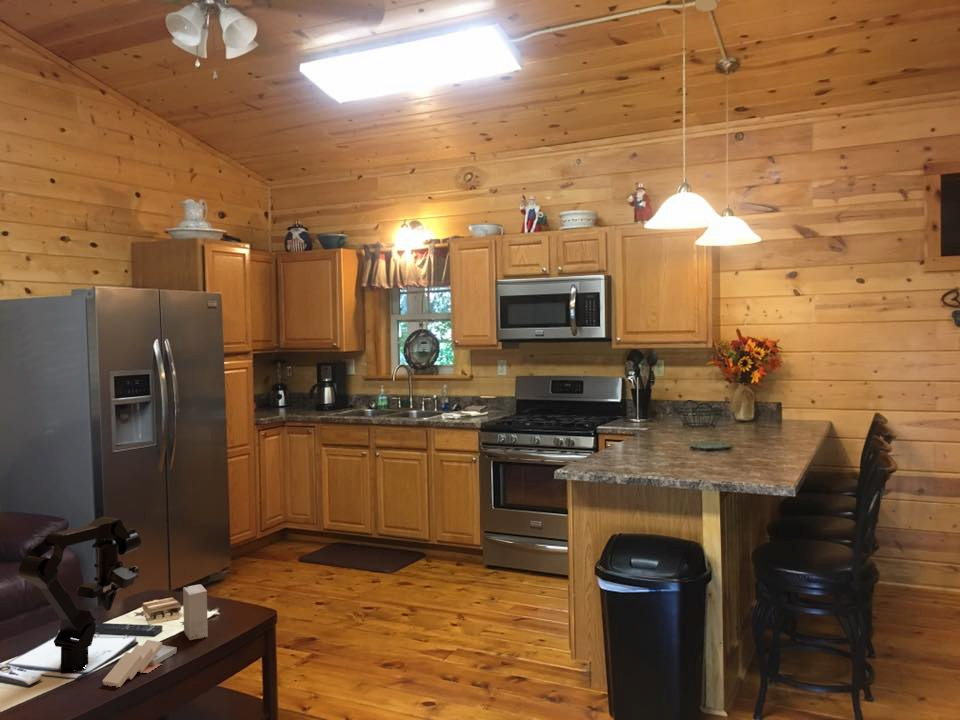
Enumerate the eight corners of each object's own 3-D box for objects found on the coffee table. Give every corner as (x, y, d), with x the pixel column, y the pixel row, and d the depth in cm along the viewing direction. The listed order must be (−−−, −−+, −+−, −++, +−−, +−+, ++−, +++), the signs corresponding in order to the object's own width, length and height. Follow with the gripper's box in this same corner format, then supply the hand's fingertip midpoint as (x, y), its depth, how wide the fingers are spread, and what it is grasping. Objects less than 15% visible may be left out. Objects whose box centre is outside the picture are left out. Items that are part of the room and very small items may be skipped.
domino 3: (140, 668, 214) (161, 642, 223) (125, 666, 215) (147, 639, 224) (141, 672, 214) (163, 646, 223) (126, 670, 216) (148, 643, 224)
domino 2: (129, 675, 210) (151, 647, 218) (114, 673, 211) (137, 645, 220) (131, 679, 210) (153, 651, 219) (115, 677, 212) (138, 649, 220)
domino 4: (154, 660, 218) (176, 647, 228) (139, 657, 220) (162, 645, 229) (154, 665, 219) (176, 652, 228) (139, 663, 220) (162, 650, 229)
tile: (121, 669, 217) (121, 668, 217) (136, 660, 222) (136, 659, 222) (147, 674, 214) (147, 673, 214) (162, 665, 220) (162, 663, 220)
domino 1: (117, 683, 206) (141, 654, 214) (102, 680, 207) (126, 652, 215) (119, 687, 206) (142, 658, 215) (104, 684, 208) (127, 656, 216)
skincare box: (208, 637, 240) (208, 591, 239) (188, 641, 236) (188, 594, 235) (201, 627, 247) (202, 582, 246) (182, 631, 243) (182, 586, 242)
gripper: (107, 572, 216) (107, 626, 217) (152, 553, 234) (151, 602, 235) (75, 567, 219) (75, 620, 220) (122, 549, 237) (121, 597, 238)
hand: (108, 610), depth 228 cm, fingers closed
